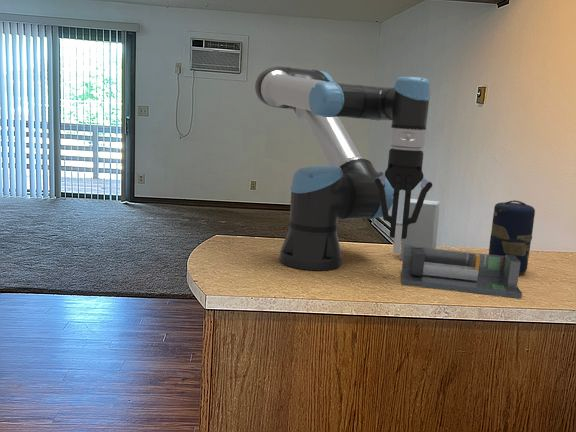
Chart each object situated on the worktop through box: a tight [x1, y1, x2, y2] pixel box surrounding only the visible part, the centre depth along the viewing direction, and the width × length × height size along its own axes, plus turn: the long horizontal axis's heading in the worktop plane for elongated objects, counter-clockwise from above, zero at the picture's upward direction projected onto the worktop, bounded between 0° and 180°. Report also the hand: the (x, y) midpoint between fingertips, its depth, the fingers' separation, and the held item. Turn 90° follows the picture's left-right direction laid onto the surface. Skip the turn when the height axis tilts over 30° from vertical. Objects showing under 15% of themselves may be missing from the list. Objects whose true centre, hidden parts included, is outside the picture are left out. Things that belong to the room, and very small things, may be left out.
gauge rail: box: [401, 246, 523, 299], centre depth 127 cm, size 25×12×7 cm, turn 79°
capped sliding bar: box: [411, 248, 480, 281], centre depth 128 cm, size 14×5×6 cm, turn 79°
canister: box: [488, 200, 536, 275], centre depth 140 cm, size 10×10×18 cm
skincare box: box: [399, 198, 441, 260], centre depth 146 cm, size 8×7×16 cm
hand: (396, 251), depth 129 cm, fingers closed
